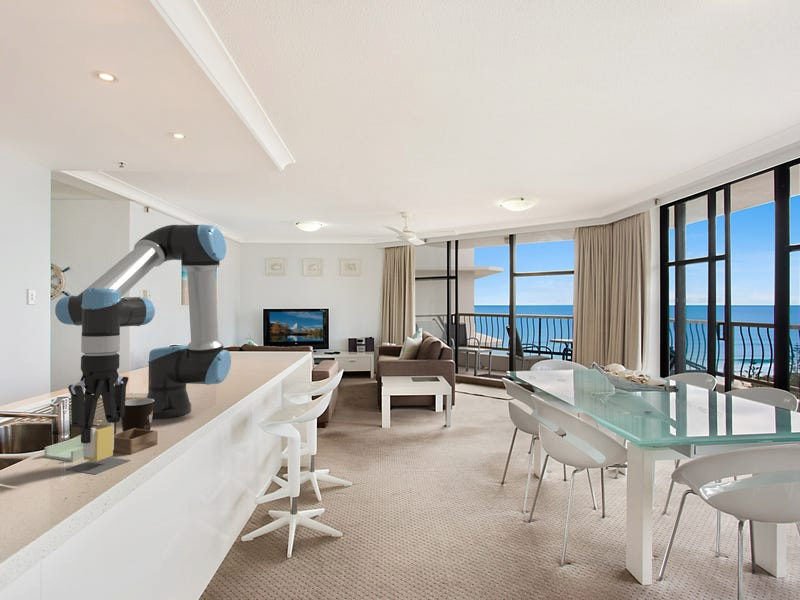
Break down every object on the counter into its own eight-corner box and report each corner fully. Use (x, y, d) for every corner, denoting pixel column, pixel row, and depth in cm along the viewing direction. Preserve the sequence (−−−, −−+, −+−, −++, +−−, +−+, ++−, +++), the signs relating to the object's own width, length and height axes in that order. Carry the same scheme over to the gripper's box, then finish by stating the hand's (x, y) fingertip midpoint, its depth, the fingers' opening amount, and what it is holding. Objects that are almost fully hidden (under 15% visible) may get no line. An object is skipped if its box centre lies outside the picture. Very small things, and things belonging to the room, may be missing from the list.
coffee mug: (137, 442, 121) (138, 406, 121) (111, 440, 123) (112, 404, 123) (168, 430, 132) (168, 397, 132) (143, 428, 134) (144, 395, 134)
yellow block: (100, 453, 106) (100, 424, 106) (112, 455, 104) (113, 425, 105) (83, 459, 102) (84, 428, 102) (97, 461, 101) (97, 430, 101)
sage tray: (92, 443, 120) (92, 432, 120) (119, 446, 117) (119, 436, 117) (44, 458, 108) (44, 447, 108) (73, 463, 105) (73, 451, 105)
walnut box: (133, 442, 120) (134, 428, 120) (157, 445, 118) (157, 431, 118) (107, 452, 113) (107, 436, 113) (131, 455, 111) (131, 440, 111)
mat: (101, 458, 109) (101, 456, 109) (130, 462, 106) (130, 460, 106) (65, 471, 100) (65, 469, 100) (95, 476, 98) (95, 474, 98)
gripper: (120, 349, 112) (118, 440, 112) (51, 356, 96) (49, 463, 96) (143, 350, 110) (142, 443, 110) (76, 358, 94) (74, 467, 94)
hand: (98, 452), depth 103 cm, fingers closed on yellow block, 4 cm apart
